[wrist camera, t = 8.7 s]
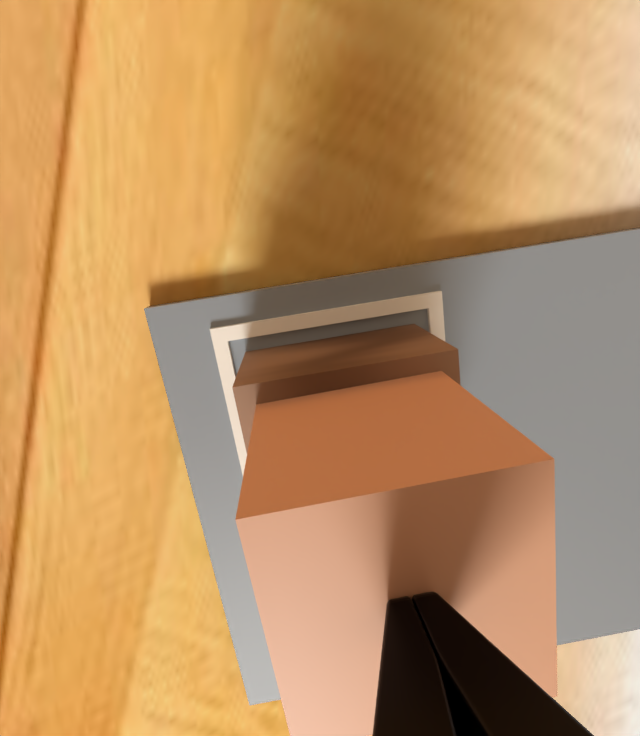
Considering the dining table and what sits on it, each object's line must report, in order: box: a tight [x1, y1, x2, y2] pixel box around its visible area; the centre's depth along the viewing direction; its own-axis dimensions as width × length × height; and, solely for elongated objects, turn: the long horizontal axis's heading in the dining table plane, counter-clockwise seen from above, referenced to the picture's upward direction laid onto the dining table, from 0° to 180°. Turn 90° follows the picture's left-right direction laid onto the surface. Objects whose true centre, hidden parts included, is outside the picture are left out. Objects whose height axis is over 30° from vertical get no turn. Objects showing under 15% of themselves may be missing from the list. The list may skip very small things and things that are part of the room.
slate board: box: [144, 228, 640, 705], centre depth 17 cm, size 22×18×1 cm
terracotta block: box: [235, 371, 557, 736], centre depth 10 cm, size 5×5×5 cm
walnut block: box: [232, 324, 461, 452], centre depth 14 cm, size 6×6×4 cm
